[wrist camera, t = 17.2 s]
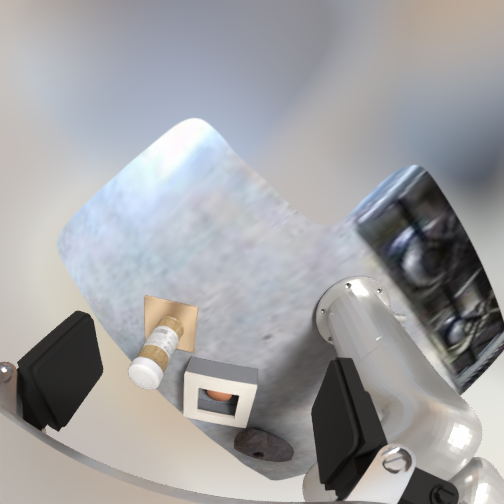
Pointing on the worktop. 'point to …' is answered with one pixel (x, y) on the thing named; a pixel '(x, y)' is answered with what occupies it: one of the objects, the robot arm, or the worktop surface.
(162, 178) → the worktop surface
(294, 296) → the worktop surface
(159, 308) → the coaster
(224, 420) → the grey square open box
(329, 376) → the robot arm
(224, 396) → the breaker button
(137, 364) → the sprinkles bottle
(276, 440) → the perforated stone tool
